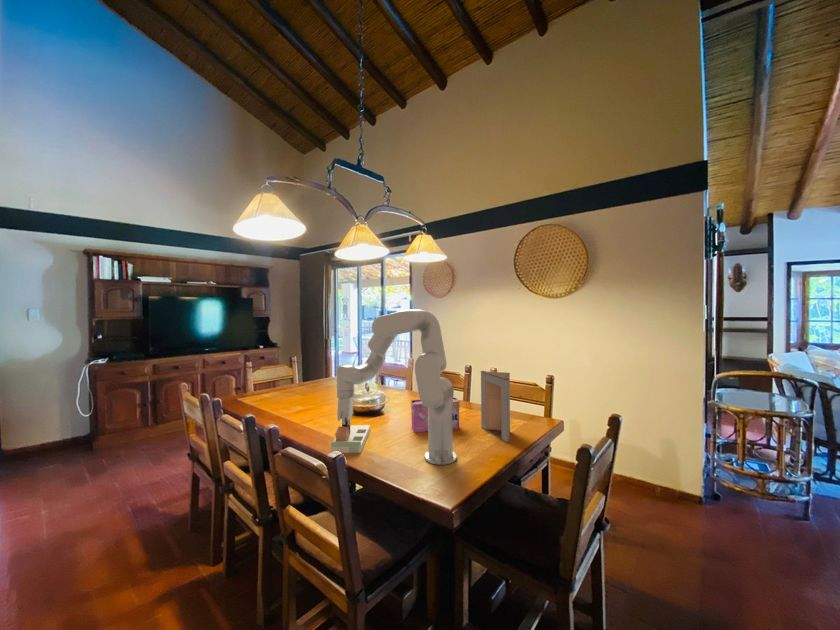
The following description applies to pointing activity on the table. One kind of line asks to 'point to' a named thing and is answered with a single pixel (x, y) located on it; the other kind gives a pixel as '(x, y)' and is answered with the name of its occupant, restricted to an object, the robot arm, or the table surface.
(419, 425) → the gum box
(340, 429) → the block
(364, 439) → the tray
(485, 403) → the cabinet
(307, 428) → the table surface
